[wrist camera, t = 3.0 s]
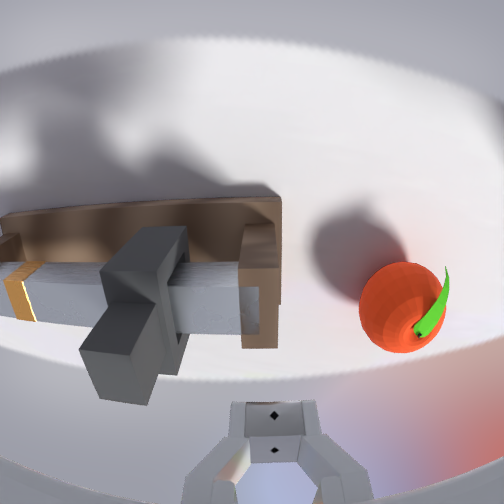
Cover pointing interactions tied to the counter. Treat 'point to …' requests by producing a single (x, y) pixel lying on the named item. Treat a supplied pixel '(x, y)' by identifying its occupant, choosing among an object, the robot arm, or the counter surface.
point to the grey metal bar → (94, 302)
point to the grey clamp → (137, 317)
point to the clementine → (403, 307)
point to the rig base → (165, 214)
